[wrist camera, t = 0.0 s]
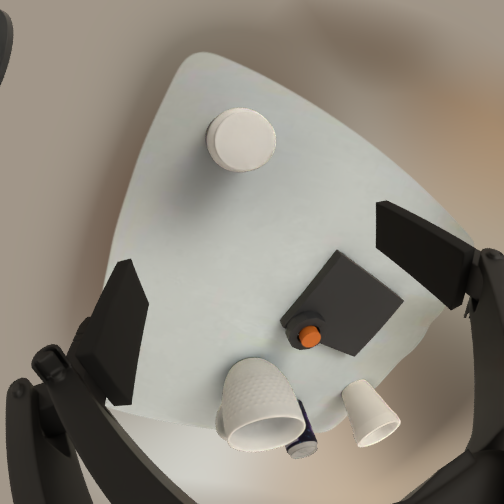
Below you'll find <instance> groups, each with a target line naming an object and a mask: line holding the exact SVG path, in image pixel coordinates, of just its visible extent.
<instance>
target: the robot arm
mask: <svg viewBox="0 0 504 504" xmlns="http://www.w3.org/2000/svg"><path fill="white" fill-rule="evenodd" d="M376 248H377V249H378V250H380V251H381V252H382V253H383V254H385V255H386V256H387V257H389V258H390V259H391V260H392V261H394V262H395V263H396V264H397V265H399V266H400V267H401V268H402V269H403V270H405V271H406V272H407V273H408V274H410V275H411V276H412V277H413V278H414V279H416V280H417V281H418V282H419V283H420V284H422V285H423V286H424V287H425V288H426V289H427V290H429V291H430V292H431V293H432V294H433V295H434V296H436V297H437V298H438V299H439V300H440V301H441V302H442V303H443V304H445V305H446V306H447V307H448V308H449V309H450V310H453V309H454V308H456V307H458V306H460V305H462V302H463V299H464V295H465V293H467V294H468V295H469V296H470V298H469V301H468V304H467V308H466V311H465V314H464V318H466V316H467V314H468V313H469V314H470V316H469V318H470V321H471V330H472V340H473V353H474V375H475V376H474V377H475V399H474V419H473V431H472V435H471V438H470V441H469V443H468V445H467V447H466V449H465V452H464V453H462V454H461V455H459V456H458V457H457V458H455V459H454V460H453V461H451V462H450V463H448V464H447V465H446V466H444V467H442V468H441V469H440V470H438V471H437V472H436V473H435V474H434V475H432V476H431V477H430V478H429V479H427V480H426V481H425V482H424V483H422V484H421V485H420V486H419V487H417V488H416V489H415V490H413V491H412V492H411V493H409V494H408V495H407V496H406V497H405V498H403V499H402V500H401V501H400V502H397V503H393V504H504V255H503V254H502V253H501V252H499V251H497V250H495V249H490V248H485V249H483V250H482V251H479V250H477V249H476V248H474V247H472V246H471V245H469V244H467V243H466V242H464V241H462V240H461V239H459V238H457V237H456V236H454V235H452V234H450V233H449V232H447V231H445V230H443V229H441V228H440V227H438V226H436V225H434V224H432V223H430V222H429V221H427V220H425V219H423V218H421V217H419V216H417V215H415V214H413V213H411V212H409V211H407V210H405V209H403V208H401V207H399V206H397V205H395V204H393V203H391V202H389V201H387V200H386V201H381V202H376ZM148 306H149V302H148V300H147V298H146V295H145V293H144V291H143V288H142V286H141V283H140V281H139V278H138V276H137V273H136V271H135V268H134V266H133V263H132V260H131V259H127V260H123V261H120V262H117V264H116V266H115V268H114V270H113V272H112V274H111V276H110V278H109V280H108V282H107V284H106V286H105V288H104V290H103V292H102V294H101V296H100V298H99V300H98V302H97V304H96V306H95V309H94V311H93V313H92V315H91V317H87V318H86V319H85V320H84V321H83V322H82V323H81V325H80V326H79V328H78V330H77V332H76V335H75V337H74V339H73V342H72V344H71V346H70V348H69V351H68V353H67V356H65V354H64V353H63V351H62V350H61V348H60V347H59V346H58V345H54V344H52V345H48V346H46V347H44V348H42V349H41V350H40V351H38V352H37V353H36V355H35V356H34V357H33V360H32V363H31V365H32V368H33V370H34V371H35V372H36V373H37V375H38V376H39V377H40V379H41V380H42V381H43V382H44V383H41V384H38V385H36V386H33V385H32V384H31V383H30V381H29V380H28V379H27V378H20V379H18V380H16V381H14V382H13V384H11V385H10V387H9V389H8V391H7V397H6V449H7V462H8V471H9V479H10V486H11V492H12V497H13V502H14V504H93V502H92V499H91V496H90V494H89V492H88V489H87V486H86V483H85V480H84V477H83V474H82V471H81V468H80V464H79V461H78V457H77V454H76V451H77V452H78V454H79V456H80V457H81V459H82V461H83V463H84V464H85V466H86V468H87V469H88V471H89V472H90V474H91V475H92V477H93V479H94V480H95V482H96V483H97V484H98V486H99V487H100V489H101V490H102V492H103V493H104V494H105V496H106V497H107V498H108V500H109V501H110V502H111V504H197V503H196V502H195V501H194V500H193V499H191V498H190V497H189V496H188V495H187V494H186V493H185V492H183V491H182V490H181V489H180V488H179V487H178V486H177V485H176V484H174V483H173V482H172V481H171V480H170V479H169V478H168V477H167V476H166V475H165V474H164V473H163V472H162V471H161V470H160V469H159V468H158V467H157V466H156V465H155V464H154V463H153V462H152V461H151V460H150V459H149V458H148V456H147V455H146V454H145V453H144V452H143V451H142V450H141V449H140V448H139V447H138V445H137V444H136V443H135V442H134V441H133V440H132V438H131V437H130V436H129V435H128V434H127V433H126V431H125V430H124V429H123V428H122V426H121V425H120V424H119V423H118V421H117V420H116V419H115V418H114V416H113V415H112V414H111V412H110V411H109V410H108V409H107V407H106V406H105V401H106V397H107V398H108V400H109V401H110V402H111V403H112V404H113V405H114V406H122V405H132V397H133V390H134V383H135V376H136V370H137V363H138V358H139V352H140V346H141V341H142V335H143V330H144V325H145V320H146V316H147V311H148ZM75 449H76V450H75Z"/></svg>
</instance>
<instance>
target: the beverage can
mask: <svg viewBox="0 0 504 504" xmlns="http://www.w3.org/2000/svg"><path fill="white" fill-rule="evenodd" d="M297 401H298V403H299V406H300V409H301V411H302V415H303V418H304V420H305V424H306V427H305V430H304V432H303V433H302V434H301V435H300V436H299V437H298V438H297V439H295V440H294V441H292V442H290V443H289V444H287V445H285V447H286V450H287V453H288V454H289V455H291V458H294V459H299V458H304V457H307V456H309V455H311V454H313V453H314V452H316V451H317V440H316V438H315V435H314V432H313V430H312V427H311V425H310V422H309V419H308V417H307V414H306V412H305V409H304V407H303V404H302V402H301V401H299V400H297Z"/></svg>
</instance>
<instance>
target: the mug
mask: <svg viewBox="0 0 504 504" xmlns="http://www.w3.org/2000/svg"><path fill="white" fill-rule="evenodd" d="M222 396H223V397H222V403H221V405H220V407H219V409H218V411H217V415H216V422H215V424H216V430H217V433H218V435H219V436H220V437H221V438H223V439H224V440H227V442H228V444H229V445H230V446H231V447H232V448H233V449H236V450H239V451H243V452H262V451H267V450H273V449H275V448H279V447H282V446H284V445H287V444H289V443H290V442H292V441H294V440H295V439H297V438H298V437H299V436H300V435H301V434H302V433H303V432H304V430H305V427H306V424H305V420H304V418H303V415H302V411H301V409H300V406H299V403H298V401H297V398H296V396H295V394H294V391H293V389H292V387H291V385H290V383H289V382H288V380H287V378H286V377H285V376H284V375H283V373H282V372H281V371H280V370H279V369H278V368H277V367H276V366H275V365H273V364H271V363H270V362H268V361H266V360H264V359H261V358H247V359H244V360H241V361H239V362H238V363H236V364H235V365H234V366H233V367H232V368H231V370H230V371H229V373H228V375H227V377H226V380H225V382H224V387H223V393H222Z"/></svg>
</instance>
